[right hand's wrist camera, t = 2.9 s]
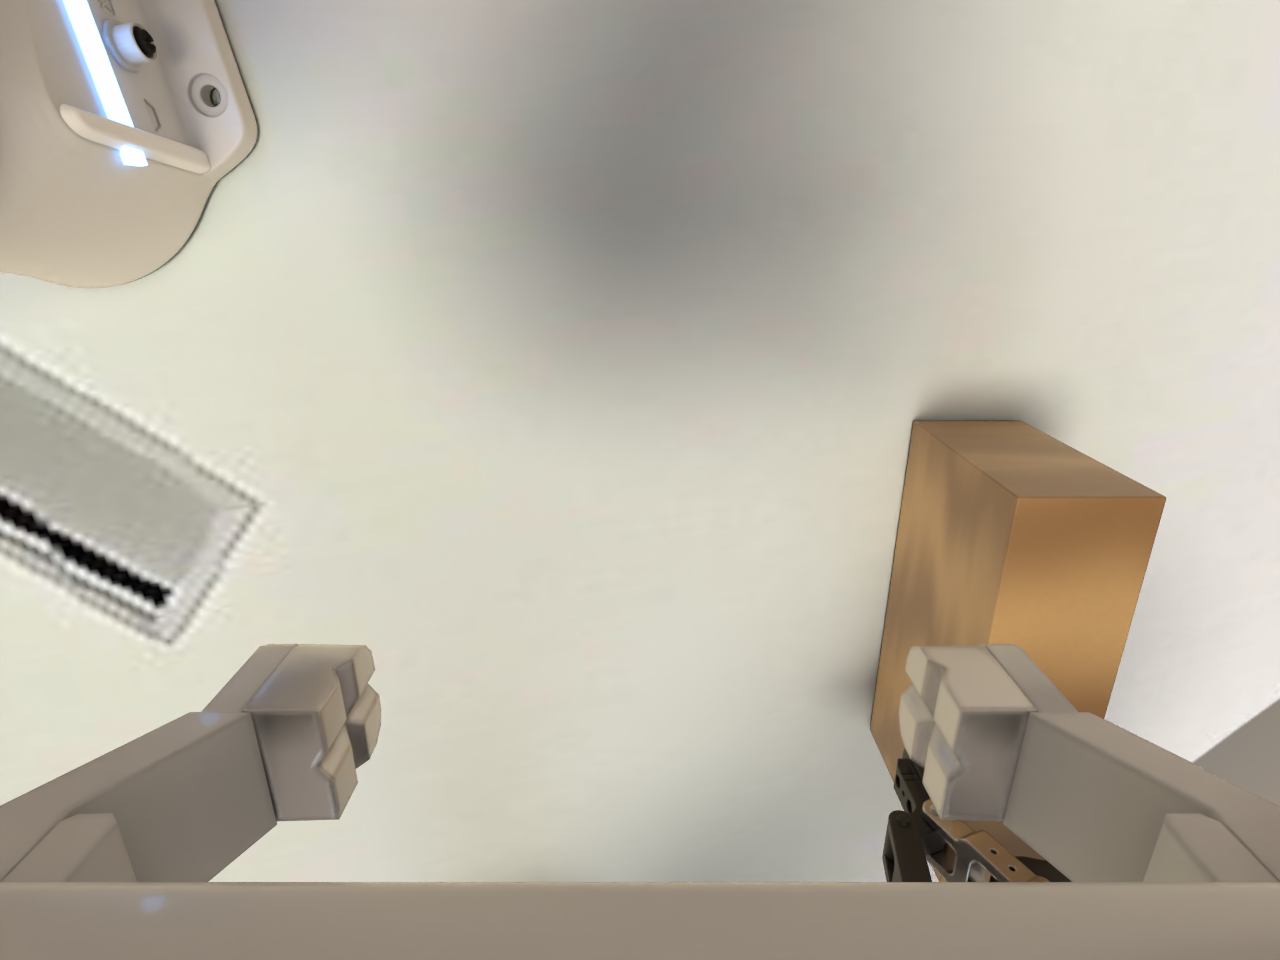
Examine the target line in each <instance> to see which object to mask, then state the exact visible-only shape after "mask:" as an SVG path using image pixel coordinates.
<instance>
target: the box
mask: <svg viewBox="0 0 1280 960" xmlns="http://www.w3.org/2000/svg"><path fill="white" fill-rule="evenodd" d="M1165 501H1166V497H1165V496H1163V495H1161V494H1159V493H1157V492H1155V491H1153V490H1152V489H1150V488H1148V487H1146V486H1144V485H1142V484H1140V483H1138V482H1136V481H1134V480H1132V479H1131V478H1129V477H1127V476H1125V475H1123V474H1121V473H1119V472H1117V471H1115V470H1113V469H1112V468H1110V467H1108V466H1106V465H1104V464H1102V463H1100V462H1098V461H1096V460H1094V459H1093V458H1091V457H1089V456H1087V455H1085V454H1083V453H1081V452H1079V451H1077V450H1075V449H1073V448H1072V447H1070V446H1068V445H1066V444H1064V443H1062V442H1060V441H1058V440H1056V439H1054V438H1053V437H1051V436H1049V435H1047V434H1045V433H1043V432H1041V431H1039V430H1037V429H1035V428H1034V427H1032V426H1030V425H1028V424H1026V423H1024V422H1022V421H914V422H913V428H912V435H911V443H910V450H909V457H908V464H907V471H906V478H905V485H904V492H903V499H902V506H901V514H900V521H899V528H898V535H897V542H896V549H895V556H894V563H893V570H892V577H891V585H890V592H889V599H888V606H887V613H886V620H885V627H884V634H883V641H882V648H881V656H880V663H879V670H878V677H877V684H876V691H875V698H874V705H873V712H872V719H871V727H870V731H871V733H872V735H873V737H874V740H875V742H876V744H877V746H878V748H879V751H880V753H881V755H882V757H883V759H884V762H885V764H886V766H887V768H888V770H889V773H890V775H891V777H892V779H893V781H894V779H895V773H896V767H897V760H898V759H902V756H903V750H904V749H905V746H904V743H903V740H902V736H901V733H900V722H899V707H900V699H901V694H902V693H903V692H904V691H905V690H906V689H907V688H908V687H909V686H910V685H911V684H912V681H911V680H910V678H909V676H908V674H907V673H906V671H905V667H906V661H907V656H908V653H909V651H910V649H911V647H913V646H966V645H985V644H1014V645H1017V646H1019V647H1021V648H1022V649H1023V650H1024V651H1025V653H1026V654H1027V655H1028V656H1029V657H1030V658H1031V659H1032V660H1033V662H1034V663H1035V664H1036V665H1037V666H1038V667H1039V668H1040V669H1041V670H1042V672H1043V673H1044V674H1045V675H1046V676H1047V677H1048V678H1049V679H1050V681H1051V682H1052V683H1053V684H1054V685H1055V686H1056V687H1057V688H1058V689H1059V691H1060V692H1061V693H1062V694H1063V695H1064V696H1065V697H1066V698H1067V699H1068V701H1069V702H1070V703H1071V704H1072V705H1073V706H1074V707H1075V708H1076V710H1077V711H1078V712H1090V713H1092V714H1094V715H1096V716H1098V717H1100V718H1102V719H1104V717H1105V713H1106V710H1107V706H1108V703H1109V699H1110V696H1111V692H1112V689H1113V685H1114V682H1115V678H1116V675H1117V671H1118V667H1119V664H1120V660H1121V657H1122V653H1123V650H1124V646H1125V643H1126V639H1127V636H1128V632H1129V629H1130V625H1131V621H1132V618H1133V614H1134V611H1135V607H1136V604H1137V600H1138V597H1139V593H1140V590H1141V586H1142V583H1143V579H1144V575H1145V572H1146V568H1147V565H1148V561H1149V558H1150V554H1151V551H1152V547H1153V544H1154V540H1155V537H1156V533H1157V529H1158V526H1159V522H1160V519H1161V515H1162V512H1163V508H1164V505H1165ZM963 821H964V822H965V823H966V824H968V825H969V826H970V827H971V828H972V829H973V830H975V831H979V830H985V831H986V832H988V833H989V834H990V835H991V836H992V837H994V838H995V839H996V840H997V841H998V842H999V843H1000V844H1001V845H1003V846H1004V847H1005V848H1006V849H1007V850H1008V851H1009V852H1010V853H1012V854H1013V855H1014V856H1025V857H1030V858H1035V859H1040V860H1045V859H1044V858H1043V857H1042V856H1041V855H1039V854H1038V853H1037V852H1036V851H1035V850H1033V849H1032V848H1031V847H1030V846H1029V845H1027V844H1026V843H1025V842H1024V841H1023V840H1021V839H1020V838H1019V837H1018V836H1017V835H1015V834H1014V833H1013V832H1012V831H1011V830H1009V829H1008V828H1007V827H1006V826H1005V825H1003V821H980V820H963ZM945 843H946V844H948V843H947V842H946V841H945ZM948 845H949V844H948ZM949 846H950V847H951V848H952V846H951V845H949ZM952 849H953V848H952ZM953 850H954V849H953ZM933 869H934V868H933ZM934 872H935V874H936V876H937V878H938V880H939V882H947V881H946V880H945V879H944V878H943V877H942V876H941V875H940V874H939V873H938V872H937V871H936V870H935V869H934ZM990 877H991V874H990V873H989V872H988V871H986V876H985V880H984V882H989V880H990Z"/></svg>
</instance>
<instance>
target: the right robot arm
mask: <svg viewBox="0 0 1280 960" xmlns="http://www.w3.org/2000/svg"><path fill="white" fill-rule="evenodd" d="M214 88H216V89H217V90H218V91H219V93H220V98H221V99H220V103H219V104H218V105H217V106H215V107H214V105H213V104H212V103H211V100H210V93H211V91H212V89H214ZM257 133H258V131H257V123H256V119H255V116H254V113H253V110H252V107H251V105H250V102H249V99H248V96H247V93H246V90H245V87H244V84H243V82H242V79H241V76H240V73H239V70H238V67H237V64H236V61H235V59H234V56H233V53H232V50H231V47H230V44H229V41H228V38H227V35H226V33H225V30H224V27H223V24H222V21H221V18H220V15H219V12H218V10H217V7H216V4H215V1H214V0H0V273H9V274H16V275H22V276H28V277H32V278H36V279H40V280H43V281H47V282H51V283H55V284H59V285H64V286H70V287H79V288H102V287H111V286H116V285H121V284H125V283H128V282H132V281H134V280H137V279H140V278H142V277H144V276H146V275H148V274H150V273H152V272H153V271H155V270H157V269H158V268H160V267H161V266H162V265H164V264H165V263H166V262H168V261H169V260H170V259H171V258H172V257H173V256H174V255H175V254H176V253H177V252H178V251H179V250H180V249H181V248H182V246H183V245H184V244H185V242H186V241H187V240H188V238H189V237H190V235H191V233H192V232H193V230H194V228H195V226H196V224H197V222H198V220H199V218H200V216H201V213H202V211H203V208H204V206H205V204H206V201H207V199H208V196H209V195H210V193H211V191H212V189H213V187H214V186H215V184H216V183H217V181H218V180H220V179H221V178H222V177H223V176H225V175H226V174H227V173H228V172H230V171H231V170H232V169H233V168H234V167H236V166H237V165H238V164H239V163H240V162H241V161H242V160H243V159H244V158H245V157H246V156H247V155H248V154H249V153H250V152H251V150H252V149H253V147H254V145H255V143H256V140H257ZM374 671H375V667H374V662H373V657H372V652H371V650H370V649H369V648H368V647H367V646H364V645H316V644H301V645H298V644H268V645H264V646H261V647H259V648H258V649H257V650H256V651H255V653H254V654H253V655H252V656H251V657H250V658H249V659H248V660H247V662H246V663H245V664H244V665H243V666H242V667H241V668H240V669H239V670H238V672H237V673H236V674H235V675H234V676H233V677H232V678H231V679H230V681H229V682H228V683H227V684H226V685H225V686H224V687H223V688H222V689H221V691H220V692H219V693H218V694H217V695H216V696H215V697H214V698H213V699H212V701H211V702H210V703H209V704H208V705H207V706H206V707H205V708H204V710H203V711H202V712H190V713H188V714H186V715H184V716H182V717H180V718H178V719H176V720H174V721H172V722H169V723H167V724H165V725H163V726H161V727H159V728H157V729H155V730H153V731H151V732H149V733H147V734H145V735H143V736H141V737H139V738H137V739H135V740H133V741H131V742H129V743H127V744H125V745H123V746H121V747H119V748H117V749H115V750H113V751H111V752H109V753H107V754H105V755H103V756H100V757H98V758H96V759H94V760H92V761H90V762H88V763H86V764H84V765H82V766H80V767H78V768H76V769H74V770H72V771H70V772H68V773H66V774H64V775H62V776H60V777H58V778H56V779H54V780H52V781H50V782H48V783H46V784H44V785H42V786H40V787H38V788H36V789H34V790H32V791H29V792H27V793H25V794H23V795H21V796H19V797H17V798H15V799H13V800H11V801H9V802H7V803H5V804H3V805H1V806H0V960H1280V806H1278V805H1276V804H1274V803H1272V802H1270V801H1268V800H1266V799H1264V798H1262V797H1260V796H1258V795H1256V794H1254V793H1252V792H1250V791H1248V790H1246V789H1244V788H1242V787H1240V786H1238V785H1236V784H1234V783H1232V782H1230V781H1228V780H1226V779H1224V778H1222V777H1220V776H1218V775H1216V774H1214V773H1212V772H1210V771H1208V770H1206V769H1203V768H1202V767H1200V766H1197V765H1195V764H1193V763H1191V762H1189V761H1187V760H1185V759H1183V758H1181V757H1179V756H1177V755H1175V754H1173V753H1171V752H1169V751H1167V750H1165V749H1163V748H1161V747H1159V746H1157V745H1155V744H1153V743H1151V742H1149V741H1147V740H1145V739H1143V738H1141V737H1139V736H1137V735H1135V734H1133V733H1131V732H1129V731H1127V730H1125V729H1123V728H1121V727H1119V726H1117V725H1115V724H1113V723H1110V722H1108V721H1106V720H1104V719H1102V718H1100V717H1098V716H1096V715H1094V714H1092V713H1090V712H1078V711H1077V710H1076V708H1075V707H1074V706H1073V705H1072V704H1071V703H1070V702H1069V701H1068V699H1067V698H1066V697H1065V696H1064V695H1063V694H1062V693H1061V692H1060V691H1059V689H1058V688H1057V687H1056V686H1055V685H1054V684H1053V683H1052V682H1051V681H1050V679H1049V678H1048V677H1047V676H1046V675H1045V674H1044V673H1043V672H1042V670H1041V669H1040V668H1039V667H1038V666H1037V665H1036V664H1035V663H1034V662H1033V660H1032V659H1031V658H1030V657H1029V656H1028V655H1027V654H1026V653H1025V651H1024V650H1023V649H1022V648H1021V647H1019V646H1017V645H1014V644H985V645H966V646H913V647H911V649H910V651H909V653H908V656H907V661H906V667H905V671H906V673H907V674H908V676H909V678H910V680H911V681H912V684H911V685H910V686H909V687H908V688H907V689H906V690H905V691H904V692H903V693H902V694H901V699H900V707H899V722H900V733H901V736H902V740H903V743H904V746H905V749H906V751H907V753H908V755H909V757H910V759H911V760H912V761H914V762H915V763H917V764H918V765H920V766H921V767H922V768H924V775H923V781H922V783H923V785H924V787H925V789H926V791H927V793H928V795H929V797H930V799H931V801H932V803H933V805H934V807H935V809H936V811H937V813H938V814H939V816H940V818H941V819H944V820H980V821H1003V825H1005V826H1006V827H1007V828H1008V829H1009V830H1011V831H1012V832H1013V833H1014V834H1015V835H1017V836H1018V837H1019V838H1020V839H1021V840H1023V841H1024V842H1025V843H1026V844H1027V845H1029V846H1030V847H1031V848H1032V849H1033V850H1035V851H1036V852H1037V853H1038V854H1039V855H1041V856H1042V857H1043V858H1044V859H1045V860H1047V861H1048V862H1049V863H1050V864H1051V865H1053V866H1054V867H1055V868H1056V869H1057V870H1059V871H1060V872H1061V873H1062V874H1063V875H1065V876H1066V877H1067V878H1068V879H1069V880H1071V881H1072V882H208V881H210V880H211V879H212V878H213V877H214V876H216V875H217V874H218V873H219V872H220V871H222V870H223V869H224V868H225V867H226V866H228V865H229V864H230V863H231V862H232V861H234V860H235V859H236V858H237V857H238V856H240V855H241V854H242V853H243V852H244V851H246V850H247V849H248V848H249V847H250V846H252V845H253V844H254V843H255V842H256V841H258V840H259V839H260V838H261V837H262V836H264V835H265V834H266V833H267V832H268V831H270V830H271V829H272V828H273V827H274V826H276V825H277V822H276V821H299V820H334V819H340V817H341V815H342V813H343V811H344V809H345V807H346V805H347V803H348V801H349V799H350V797H351V795H352V793H353V791H354V789H355V787H356V785H357V783H358V781H357V775H356V768H358V767H359V766H360V765H362V764H363V763H365V762H366V761H368V760H369V759H370V757H371V755H372V753H373V751H374V748H375V746H376V744H377V739H378V735H379V730H380V726H381V705H380V698H379V694H378V693H377V692H376V691H375V690H374V689H373V688H372V687H371V686H370V685H369V684H368V681H369V680H370V678H371V676H372V674H373V673H374Z"/></svg>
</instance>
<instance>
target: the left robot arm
mask: <svg viewBox="0 0 1280 960" xmlns="http://www.w3.org/2000/svg"><path fill="white" fill-rule="evenodd" d="M923 775H924V768H922V767H921V766H920V765H918V764H917V763H915V762H914V761H912V760H911V759H910V757H909V755H908V753H907V751H906V749H904V750H903V756H902V759H898V760H897V767H896V773H895V779H894V789H895V791H896V793H897V795H898V798H899V800H900V802H901V804H902V807H903V809H904V811H905V812H904V811H900V810H897V811H893V812H891V813H890V815H889V820H888V826H887V832H886V838H885V844H884V850H883V856H882V858H883V864H884V869H885V875H886V880H887V882H932V880H931V876H930V872H929V868H928V864H927V861H928V863H929V864H930V865H931V866H932V867H933V868H934V869H935V870H936V871H937V872H938V873H939V874H940V875H941V876H942V877H943V878H944V879H945V880H946V881H947V882H984V880H985V876H986V871H988V872H989V873H990V874H991V877H990V880H989V882H1072V881H1071V880H1069V879H1068V878H1067V877H1066V876H1065V875H1063V874H1062V873H1061V872H1060V871H1059V870H1057V869H1056V868H1055V867H1054V866H1053V865H1051V864H1050V863H1049V862H1048V861H1047V860H1040V859H1035V858H1030V857H1025V856H1014V855H1013V854H1012V853H1010V852H1009V851H1008V850H1007V849H1006V848H1005V847H1004V846H1003V845H1001V844H1000V843H999V842H998V841H997V840H996V839H995V838H994V837H992V836H991V835H990V834H989V833H988V832H986V831H985V830H979V831H975V830H973V829H972V828H971V827H970V826H969V825H968V824H966V823H965V822H964V821H963V820H944V819H941V818H940V816H939V814H938V813H937V811H936V809H935V807H934V805H933V803H932V801H931V799H930V797H929V795H928V793H927V791H926V789H925V787H924V785H923V783H922V781H923ZM945 841H946V842H947V843H948V844H949V845H951V846H952V848H953V849H954V850H953V849H952V848H951V847H950V846H949V845H948V844H946V843H945Z"/></svg>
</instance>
